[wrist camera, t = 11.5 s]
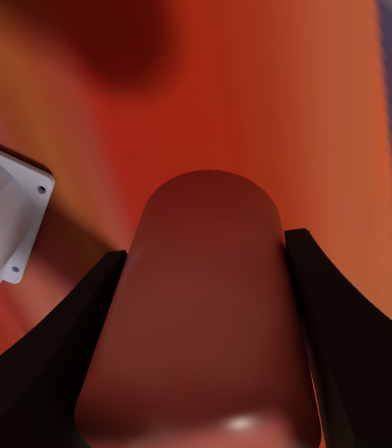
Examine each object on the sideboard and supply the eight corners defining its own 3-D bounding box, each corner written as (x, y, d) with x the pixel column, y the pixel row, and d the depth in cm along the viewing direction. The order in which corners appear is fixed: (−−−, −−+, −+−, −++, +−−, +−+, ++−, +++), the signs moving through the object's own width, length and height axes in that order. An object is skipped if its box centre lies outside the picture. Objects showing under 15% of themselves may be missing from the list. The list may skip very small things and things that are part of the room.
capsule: (233, 300, 15) (235, 503, 10) (120, 250, 14) (46, 446, 8) (311, 212, 13) (379, 424, 7) (179, 142, 11) (128, 324, 6)
